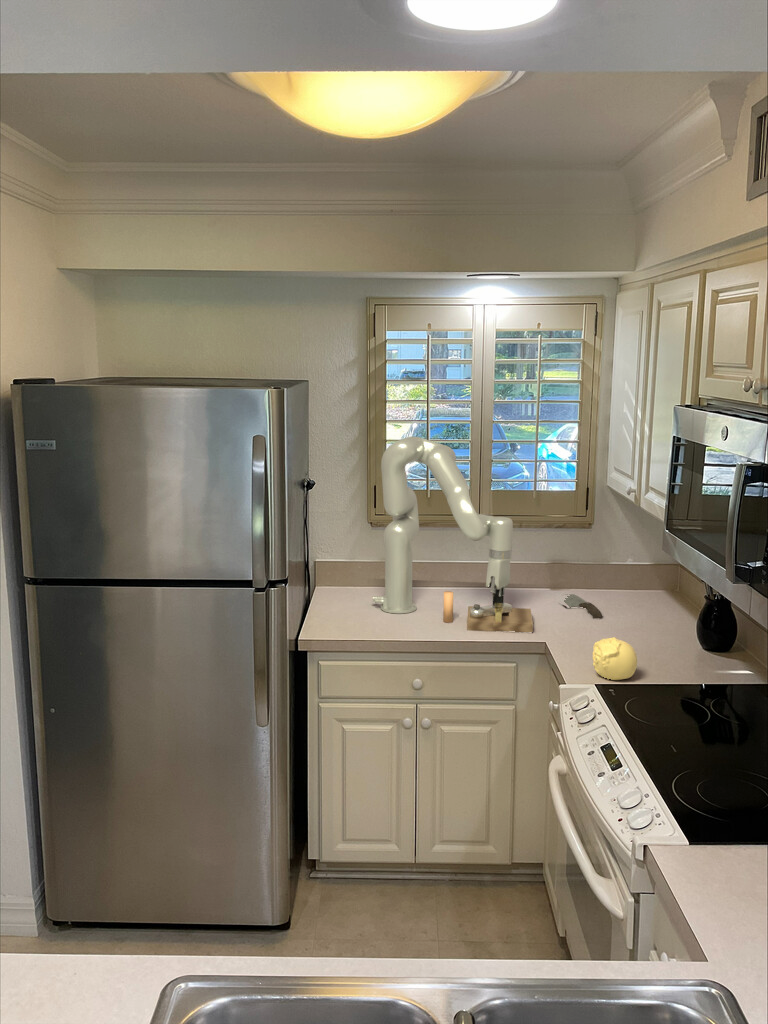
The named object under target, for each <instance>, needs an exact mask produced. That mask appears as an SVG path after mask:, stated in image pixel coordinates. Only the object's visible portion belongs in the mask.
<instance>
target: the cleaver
mask: <svg viewBox="0 0 768 1024" xmlns="http://www.w3.org/2000/svg"><path fill="white" fill-rule="evenodd" d="M569 595H570V596H567V597H568V598H565V599H566V600H564V602H565V603H566V604H567V605H568V606H569V607H583V608H582V609H584V608H586V609H585V610H586V611H587V613H588V614H589V613H590V616H592V618H593V619H594V618H600V619H602V618H603V613H602V612H601V611H600V609H598V607H597V606H595V605H594V604H593V603H592V602H589V601H586V600H584V599H583V598H581V597H580V596H579V595H577V594H573V593H571V594H569Z"/></svg>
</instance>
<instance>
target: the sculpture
mask: <svg viewBox="0 0 768 1024" xmlns="http://www.w3.org/2000/svg"><path fill="white" fill-rule="evenodd" d="M592 648H593V651H592V661H593V662H592V666H593V668H594V670H595V671H596V673H597V674H598V675H599V676H601V677H602V678H603V677H604V679H605V678H607V679H606V680H609V679H611V680H610V681H620V680H625V679H629V678H631V677H633V675H634V674H635V673H636V670H637V667H638V656H637V653H636V650H635V649H634V647H633V646H632V645H631V644H629V643H628V642H626V641H624V640H621V639H617V638H616V637H614V636H613V637H608V638H601V639H600V640H598V641H596V642H594V644H593V647H592Z"/></svg>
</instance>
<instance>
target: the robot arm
mask: <svg viewBox="0 0 768 1024" xmlns="http://www.w3.org/2000/svg"><path fill="white" fill-rule="evenodd" d="M456 460H457V455H456V453H455V451H454V450H453V448H451V447H450V446H448V445H445V444H442V443H439V442H436V441H435V442H434V441H432V440H429V439H426V438H422V437H420V436H408V437H404V438H402V439H401V438H400V439H399V440H397V441H395V442H393V443H392V444H390V445H389V446H388V447H387V448H386V449H385V450H384V452H383V455H382V457H381V461H380V462H381V463H380V466H381V480H382V481H381V482H382V483H381V484H382V496H383V497H382V498H383V499H382V500H383V508H384V510H385V512H386V513H387V514H388V515H389V516H391V517H392V521H391V522H390V523H388V525H386V527H385V529H384V531H383V535H382V536H383V538H382V539H383V547H384V569H385V571H384V595H381V596H378V595H373V596H372V602H374V603H375V604H380V610H382V611H383V612H384V613H390V614H408V613H412V612H415V611H416V610H417V604H415V603H414V602H413V551H412V541H414V540H415V539H416V538H417V536H418V534H419V533H420V532H419V531H420V520H419V510H418V509H419V507H418V499H417V495H416V492H415V491H414V489H412V488H411V487H409V486H408V477H407V476H408V475H407V471H406V466H407V465H408V464H411V463H413V462H417V463H419V464H423V465H426V466H427V468H428V469H429V471H430V473H431V474H432V476H433V477H434V479H435V481H436V482H437V484H438V486H439V487H440V489H441V491H442V493H443V494H444V496H445V498H446V500H447V504H448V506H449V508H450V512H451V514H452V516H453V518H454V520H455V523H456V524H457V525H458V527H459V529H460V530H461V532H462V533H463V535H464V536H465V537H466V539H468V540H470V541H471V542H472V541H473V542H479V541H481V540H483V539H484V538H485V537H487V536H488V537H489V540H488V542H489V543H488V563H487V569H486V576H485V577H486V579H485V587H486V588H488V589H489V588H490V593H491V594H492V605H495V603H504V598H505V597H504V596H505V589H506V588H507V586H508V585H509V584H510V582H511V581H510V580H511V560H512V551H513V550H512V548H513V527H514V522H513V520H512V518H511V517H508V516H507V517H506V516H505V517H504V516H492V515H488V514H483V513H477V511H476V509H475V507H474V505H473V504H472V503H473V502H472V501H471V497H470V488H469V483H468V482H467V480H466V478H465V477H464V474H462V472H461V470H460V469H459V467H458V465H457V463H456Z"/></svg>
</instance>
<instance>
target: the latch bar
mask: <svg viewBox="0 0 768 1024" xmlns="http://www.w3.org/2000/svg"><path fill="white" fill-rule="evenodd" d="M512 606H513V605H512V604H510V603H508V602H503V603H502V613H507V612H511V608H513V607H512ZM490 615H495V605H493V604H490V605H483V606H480V609H474V607H472V608H470V617H473V618H482V617H484V616H490Z"/></svg>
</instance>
